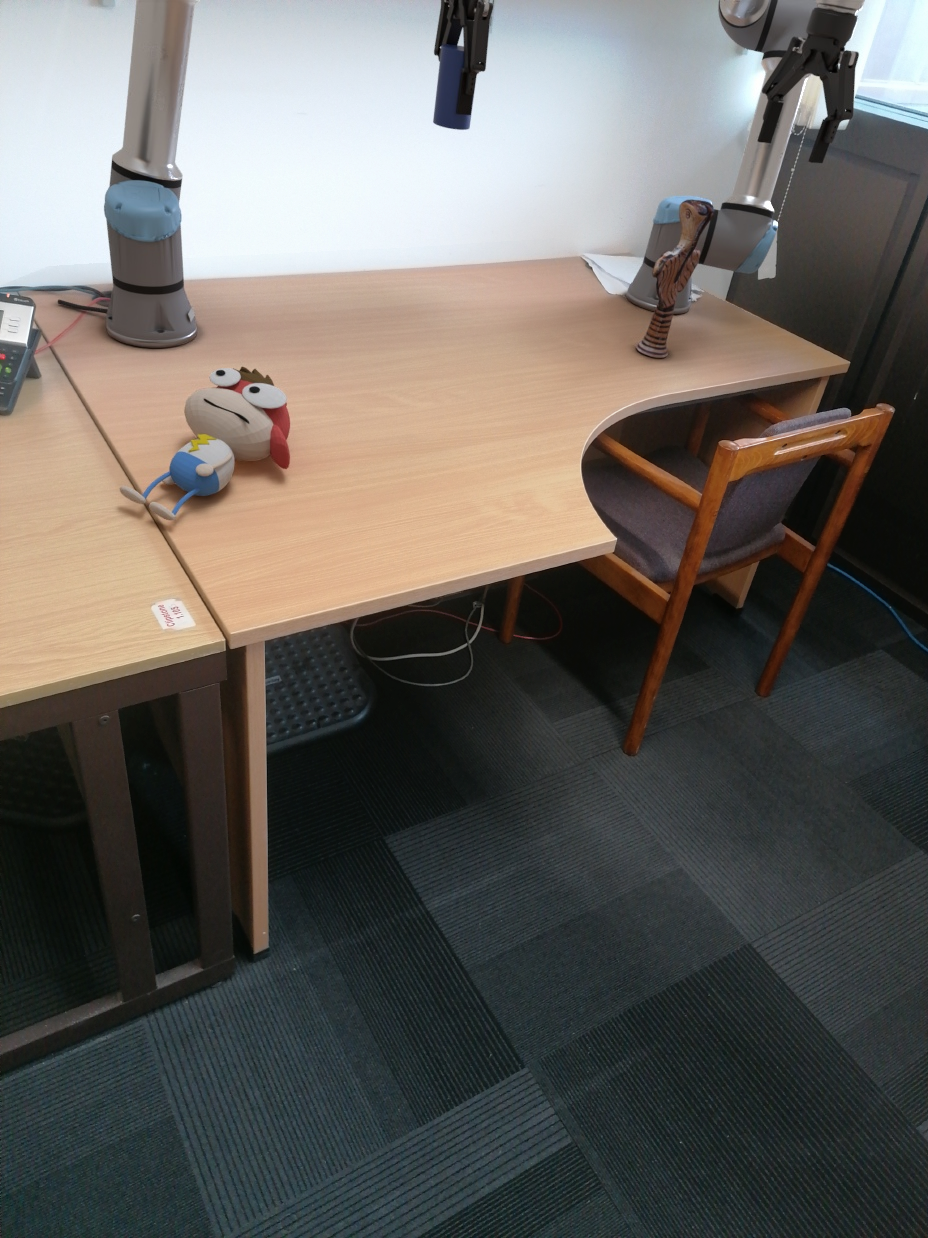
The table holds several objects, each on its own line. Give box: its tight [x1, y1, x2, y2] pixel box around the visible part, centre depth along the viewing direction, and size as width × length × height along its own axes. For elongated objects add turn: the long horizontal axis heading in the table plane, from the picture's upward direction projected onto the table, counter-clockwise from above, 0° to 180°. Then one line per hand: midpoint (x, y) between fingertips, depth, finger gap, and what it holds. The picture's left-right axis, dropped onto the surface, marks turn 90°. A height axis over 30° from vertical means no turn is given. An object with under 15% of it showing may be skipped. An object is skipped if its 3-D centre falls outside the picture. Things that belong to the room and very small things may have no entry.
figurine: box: [635, 199, 715, 359], centre depth 176 cm, size 15×8×30 cm, turn 144°
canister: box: [432, 44, 475, 131], centre depth 159 cm, size 7×7×12 cm
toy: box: [119, 366, 291, 521], centre depth 123 cm, size 18×10×30 cm
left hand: (453, 108), depth 161 cm, fingers closed on canister, 7 cm apart
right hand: (788, 151), depth 158 cm, fingers open, 13 cm apart
